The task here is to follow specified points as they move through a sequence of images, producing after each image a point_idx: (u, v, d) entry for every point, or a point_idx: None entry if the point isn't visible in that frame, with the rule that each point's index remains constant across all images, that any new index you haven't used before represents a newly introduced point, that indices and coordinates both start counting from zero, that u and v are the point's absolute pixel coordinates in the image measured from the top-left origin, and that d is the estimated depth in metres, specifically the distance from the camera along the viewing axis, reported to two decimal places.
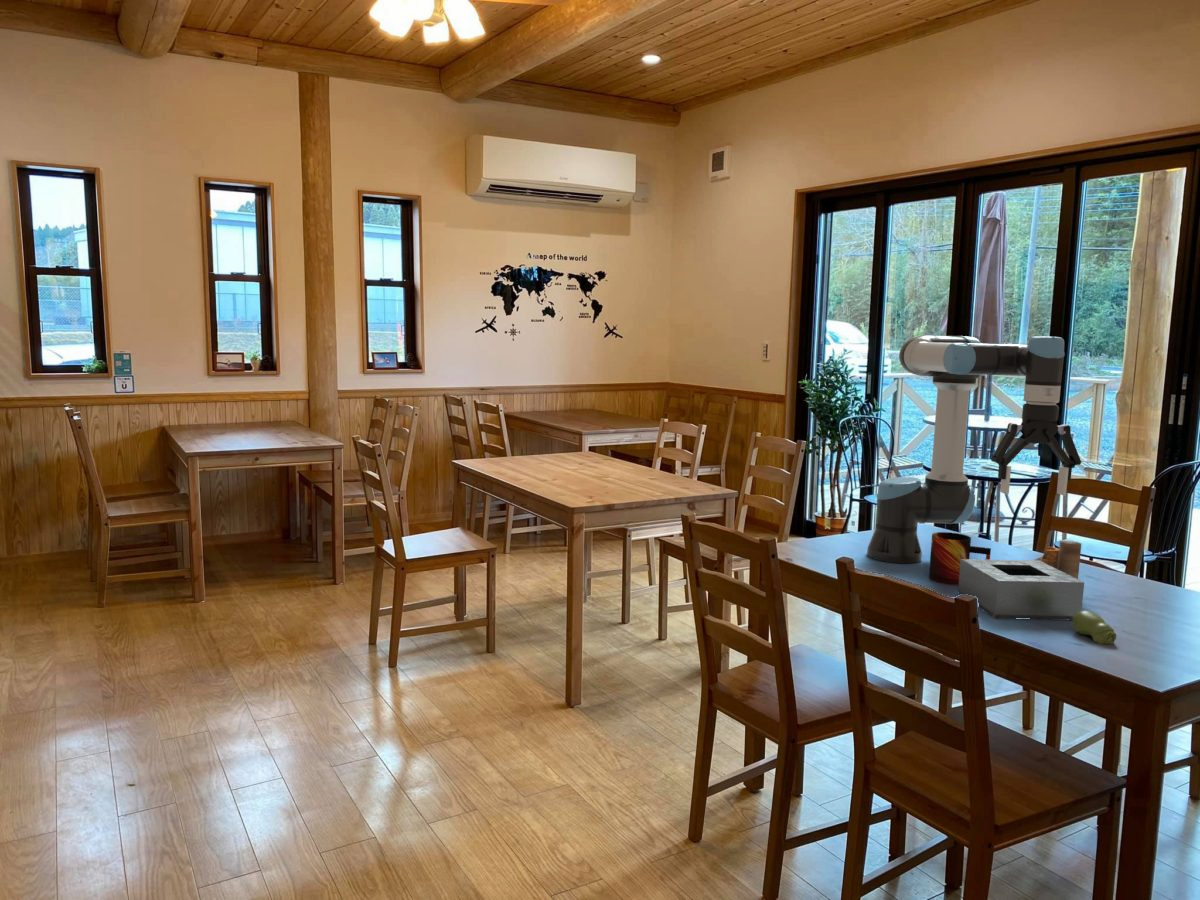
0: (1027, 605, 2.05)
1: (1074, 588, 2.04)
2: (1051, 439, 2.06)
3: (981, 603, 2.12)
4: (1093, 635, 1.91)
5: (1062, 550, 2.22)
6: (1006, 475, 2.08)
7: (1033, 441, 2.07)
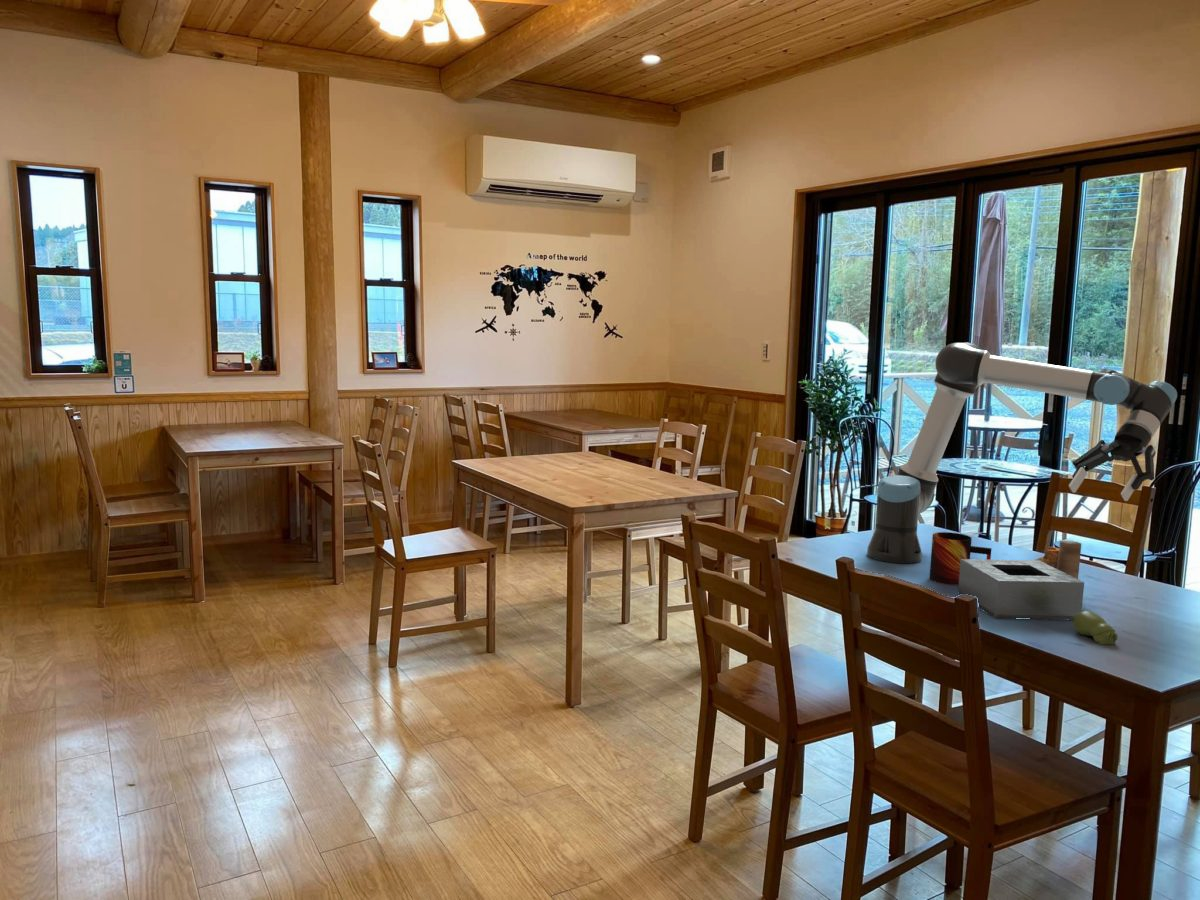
0: (1027, 605, 2.05)
1: (1074, 588, 2.04)
2: None
3: (981, 603, 2.12)
4: (1094, 635, 1.90)
5: (1062, 550, 2.22)
6: None
7: None
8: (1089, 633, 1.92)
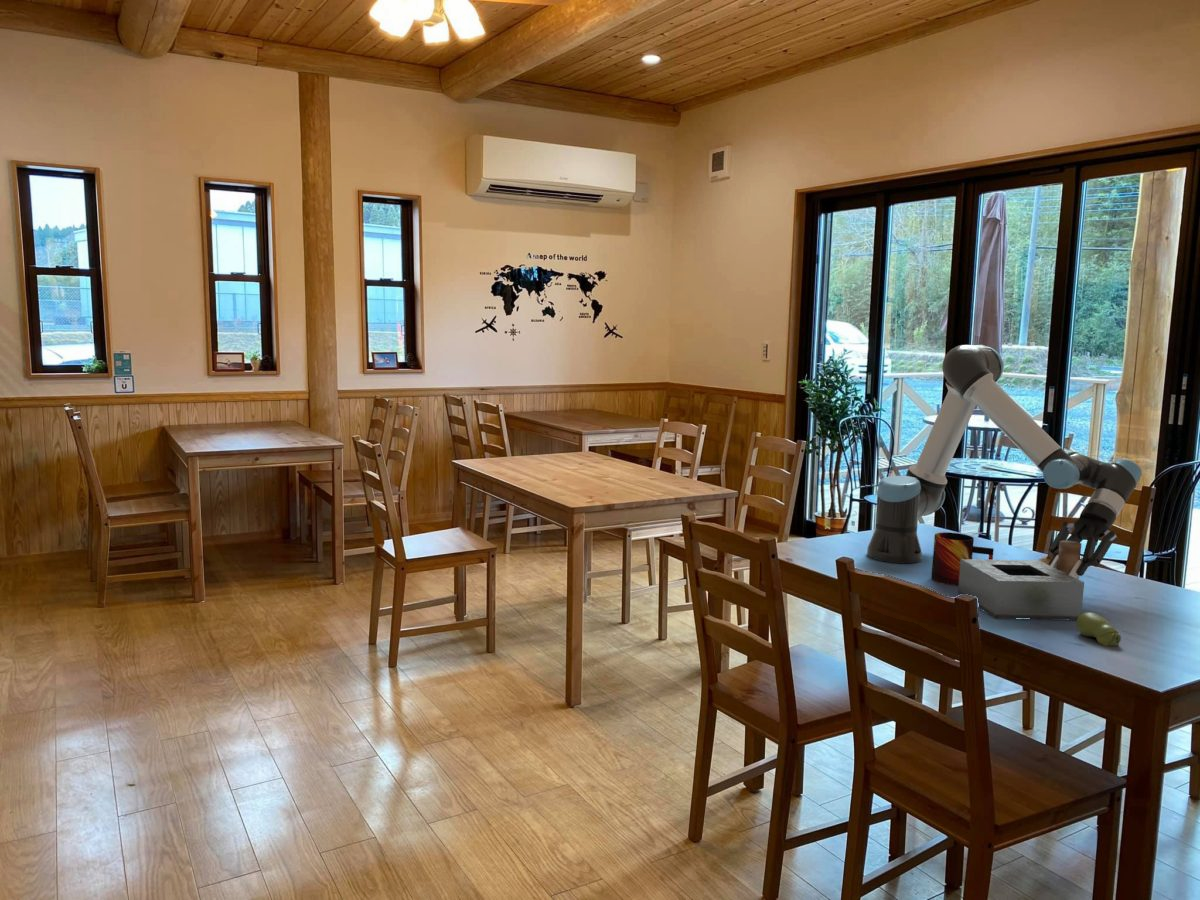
0: (1027, 605, 2.05)
1: (1074, 588, 2.04)
2: None
3: (981, 603, 2.12)
4: (1097, 637, 1.89)
5: (1062, 550, 2.22)
6: None
7: None
8: (1092, 634, 1.91)
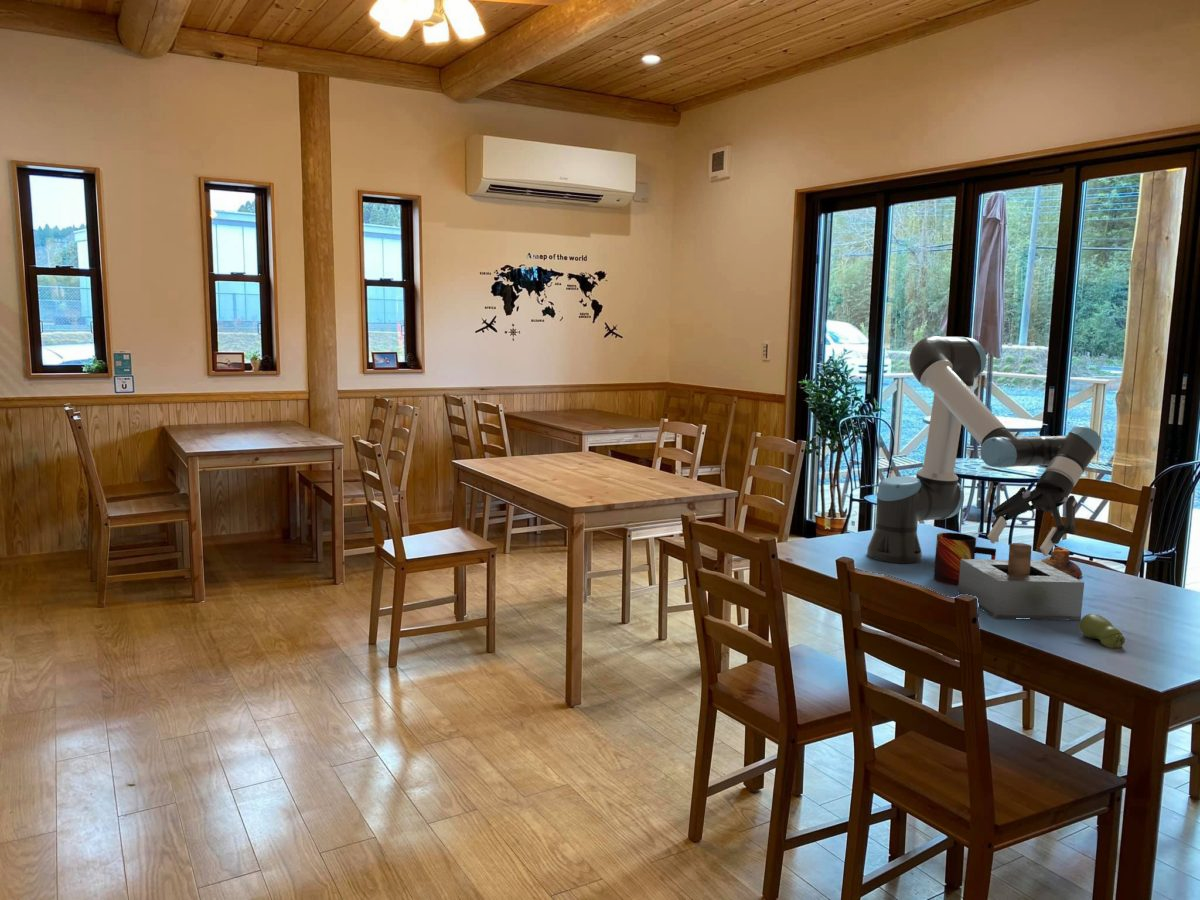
0: (1027, 605, 2.05)
1: (1074, 588, 2.04)
2: None
3: (981, 603, 2.12)
4: (1101, 639, 1.88)
5: (1011, 554, 2.12)
6: None
7: None
8: (1096, 636, 1.90)
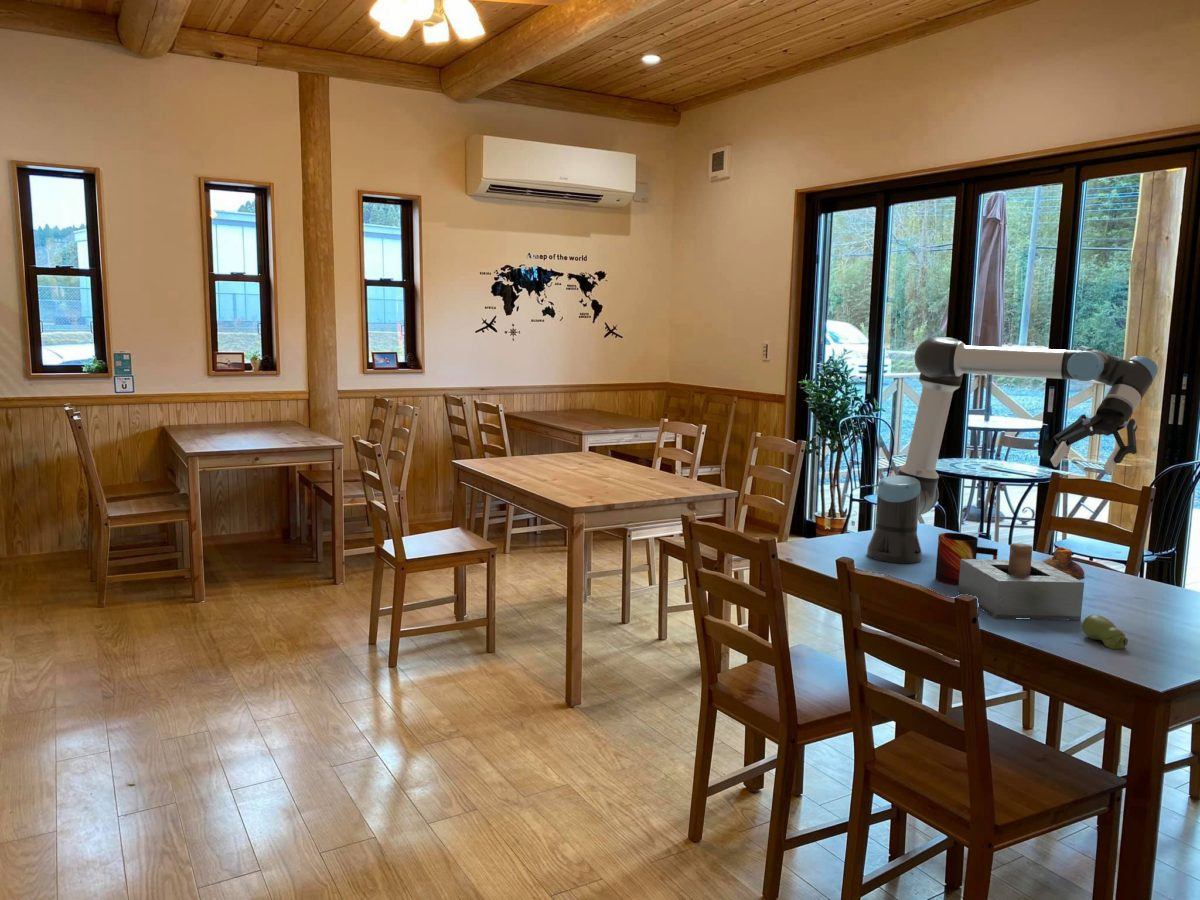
0: (1027, 605, 2.05)
1: (1074, 588, 2.04)
2: None
3: (981, 603, 2.12)
4: (1104, 640, 1.88)
5: (1012, 553, 2.12)
6: None
7: None
8: (1099, 637, 1.89)
